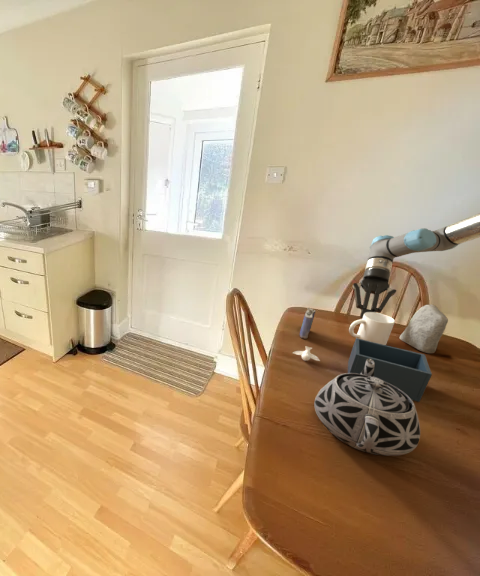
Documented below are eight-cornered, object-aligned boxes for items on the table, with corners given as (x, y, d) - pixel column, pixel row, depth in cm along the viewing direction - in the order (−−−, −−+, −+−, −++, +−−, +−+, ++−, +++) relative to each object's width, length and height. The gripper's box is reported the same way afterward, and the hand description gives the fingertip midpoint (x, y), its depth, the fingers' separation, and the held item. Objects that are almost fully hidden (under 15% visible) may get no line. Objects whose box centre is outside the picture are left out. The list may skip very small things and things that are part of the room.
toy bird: (290, 357, 103) (294, 343, 103) (291, 355, 107) (295, 342, 107) (319, 366, 98) (323, 352, 98) (319, 364, 102) (323, 350, 102)
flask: (306, 339, 115) (313, 313, 111) (297, 337, 116) (304, 311, 113) (310, 330, 121) (317, 305, 117) (301, 328, 123) (308, 303, 119)
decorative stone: (439, 355, 105) (457, 315, 99) (418, 353, 105) (435, 314, 100) (413, 338, 115) (429, 301, 109) (395, 337, 115) (409, 300, 110)
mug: (350, 346, 110) (359, 320, 106) (339, 334, 118) (347, 310, 114) (390, 350, 108) (401, 324, 104) (376, 337, 115) (385, 313, 111)
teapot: (403, 409, 82) (424, 361, 76) (421, 502, 59) (452, 443, 54) (316, 381, 93) (329, 337, 87) (303, 451, 70) (320, 397, 65)
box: (413, 380, 93) (424, 354, 89) (419, 402, 84) (432, 374, 81) (348, 361, 102) (355, 337, 98) (347, 380, 93) (355, 354, 90)
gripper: (358, 264, 122) (344, 317, 116) (402, 270, 115) (391, 327, 109) (354, 273, 128) (341, 325, 122) (396, 280, 121) (385, 335, 115)
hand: (364, 326), depth 116 cm, fingers closed
